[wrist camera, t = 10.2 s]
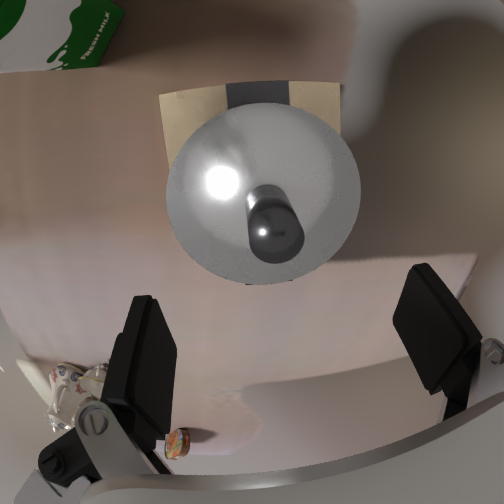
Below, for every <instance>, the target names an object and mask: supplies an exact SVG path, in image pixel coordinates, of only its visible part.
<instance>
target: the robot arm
mask: <svg viewBox="0 0 504 504" xmlns="http://www.w3.org/2000/svg"><path fill="white" fill-rule="evenodd" d="M393 325H394V327H395V329H396V331H397V332H398V334H399V336H400V338H401V340H402V342H403V344H404V346H405V348H406V350H407V352H408V354H409V356H410V358H411V360H412V362H413V364H414V366H415V368H416V370H417V373H418V374H419V377H420V379H421V381H422V383H423V385H424V387H425V389H426V390H429V393H430V395H433V394H435V393H438V392H440V391H441V390H443V392H444V397H443V401H442V406H441V410H440V413H439V416H438V420H437V423H436V425H435V426H432V427H430V428H428V429H426V430H424V431H421V432H419V433H417V434H414V435H412V436H409V437H407V438H404V439H402V440H399V441H396V442H394V443H391V444H388V445H385V446H382V447H379V448H377V449H373V450H370V451H367V452H364V453H361V454H357V455H353V456H350V457H346V458H342V459H338V460H334V461H330V462H325V463H320V464H316V465H311V466H305V467H299V468H293V469H287V470H279V471H272V472H262V473H252V474H235V475H175V474H174V473H173V471H172V470H171V469H170V468H169V466H168V465H167V464H166V463H165V462H164V461H163V459H162V458H161V457H160V456H159V454H158V453H157V452H156V451H155V448H156V440H165V436H166V434H169V433H170V427H171V413H172V400H173V388H174V378H175V368H176V359H177V348H176V344H175V342H174V340H173V337H172V335H171V333H170V330H169V328H168V326H167V323H166V321H165V318H164V316H163V313H162V311H161V308H160V306H159V303H158V301H157V299H153V298H152V296H151V295H142V296H135V297H134V298H133V301H132V304H131V307H130V310H129V313H128V316H127V319H126V323H125V326H124V329H123V333H119V334H118V336H117V338H116V341H115V344H114V348H113V351H112V355H111V358H110V362H109V366H108V370H107V373H106V377H105V381H104V385H103V389H102V394H101V398H100V401H90V402H87V403H85V404H84V405H82V406H81V407H80V408H79V410H78V411H77V413H76V416H75V427H74V428H73V429H71V430H70V431H68V432H67V433H65V434H64V435H63V436H61V437H60V438H58V439H57V440H55V441H54V442H53V443H51V444H50V445H48V446H47V447H45V448H44V449H43V450H42V451H41V453H40V455H39V459H38V466H39V469H38V470H36V469H34V471H33V472H32V474H31V475H30V476H29V478H28V479H27V481H26V482H25V483H24V485H23V486H22V488H21V489H20V491H19V492H18V494H17V495H16V497H15V500H14V504H504V344H503V343H501V342H500V341H499V340H497V339H495V338H488V339H486V340H484V342H483V343H481V341H480V340H481V339H482V335H481V333H480V332H479V330H478V329H477V327H476V326H475V324H474V323H473V322H472V320H471V319H470V317H469V316H468V315H467V313H466V312H465V310H464V309H463V308H462V306H461V305H460V303H459V302H458V301H457V299H456V298H455V297H454V295H453V294H452V293H451V291H450V290H449V289H448V287H447V286H446V285H445V284H444V282H443V281H442V280H441V279H440V277H439V276H438V275H437V274H436V272H435V271H434V270H433V269H432V268H431V266H430V265H429V264H428V263H421V264H415V265H413V266H412V268H411V269H410V270H409V272H408V275H407V279H406V282H405V285H404V288H403V290H402V293H401V296H400V299H399V302H398V305H397V307H396V310H395V313H394V315H393Z"/></svg>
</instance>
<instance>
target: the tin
mask: <svg viewBox="0 0 504 504" xmlns="http://www.w3.org/2000/svg"><path fill="white" fill-rule="evenodd" d="M189 449H190V434H189V432H188V431H186V430H182V429H176V430H175V431H174V432H172V433H171V434H169V435H168V436H167V438H166V442H165V456H166V458H167V459H172V460H177V459H179V458H181V457H183V456H185V455H187V453H188V452H189Z"/></svg>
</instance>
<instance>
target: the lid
mask: <svg viewBox="0 0 504 504" xmlns="http://www.w3.org/2000/svg"><path fill="white" fill-rule="evenodd" d="M360 200H361V183H360V175H359V171H358V167H357V164H356V161H355V159H354V157H353V154H352V152H351V151H350V149H349V147H348V146H347V144H346V143H345V141H344V140H343V139H342V137H341V136H340V135H339V134H338V133H337V132H336V131H335V130H334V129H333V128H332V127H331V126H330V125H329V124H328V123H326V122H325V121H323V120H322V119H320V118H319V117H317V116H316V115H314V114H311V113H309V112H307V111H305V110H303V109H300V108H296V107H293V106H290V105H284V104H278V103H252V104H245V105H241V106H237V107H234V108H231V109H229V110H226V111H224V112H222V113H219V114H218V115H216V116H214V117H213V118H211V119H210V120H208V121H207V122H205V123H204V124H203V125H202V126H201V127H199V128H198V129H197V130H196V131H195V132H194V133H193V134H192V135H191V136H190V137H189V139H188V140H187V141H186V142H185V143H184V145H183V146H182V148H181V149H180V151H179V152H178V154H177V156H176V158H175V160H174V162H173V165H172V167H171V170H170V174H169V177H168V182H167V189H166V205H167V212H168V217H169V220H170V224H171V227H172V229H173V231H174V234H175V236H176V238H177V239H178V241H179V242H180V244H181V246H182V247H183V248H184V249H185V251H186V252H187V253H188V254H189V255H190V256H191V257H192V258H193V259H194V260H195V261H196V262H197V263H198V264H200V265H201V266H202V267H204V268H205V269H207V270H208V271H210V272H212V273H214V274H216V275H218V276H220V277H223V278H225V279H228V280H231V281H235V282H239V283H245V284H256V285H264V284H275V283H281V282H285V281H289V280H293V279H296V278H298V277H301V276H303V275H305V274H307V273H309V272H311V271H313V270H315V269H316V268H318V267H319V266H321V265H322V264H324V263H325V262H326V261H327V260H328V259H330V258H331V257H332V256H333V255H334V254H335V253H336V251H338V250H339V248H340V247H341V246H342V245H343V243H344V242H345V241H346V239H347V237H348V236H349V234H350V232H351V230H352V228H353V226H354V224H355V221H356V218H357V215H358V211H359V207H360Z"/></svg>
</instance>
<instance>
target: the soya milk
mask: <svg viewBox="0 0 504 504" xmlns="http://www.w3.org/2000/svg"><path fill="white" fill-rule="evenodd" d="M124 13H125V11H124V10H122V9H121V8H120V7H118V6H117V5H116V4H114V3H113V2H112V1H110V0H0V73H7V72H19V71H37V70H66V69H77V68H90V67H98V65H99V63H100V61H101V58H102V56H103V54H104V52H105V50H106V48H107V45H108V43H109V41H110V39H111V37H112V35H113V33H114V32H115V30H116V28H117V26H118V24H119V22H120V20H121V19H122V17H123V15H124Z"/></svg>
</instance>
